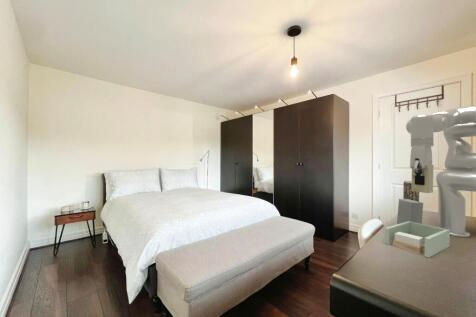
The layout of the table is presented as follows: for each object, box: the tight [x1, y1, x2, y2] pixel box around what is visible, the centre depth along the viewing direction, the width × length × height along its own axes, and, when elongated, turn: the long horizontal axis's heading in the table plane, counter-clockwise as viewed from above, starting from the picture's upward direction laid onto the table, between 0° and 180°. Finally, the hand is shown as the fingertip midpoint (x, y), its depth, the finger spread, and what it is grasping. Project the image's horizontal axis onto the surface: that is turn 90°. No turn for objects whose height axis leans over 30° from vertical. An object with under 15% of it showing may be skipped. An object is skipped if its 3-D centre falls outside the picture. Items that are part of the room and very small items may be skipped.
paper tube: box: [402, 180, 420, 202], centre depth 116 cm, size 7×7×25 cm
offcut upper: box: [395, 232, 424, 247], centre depth 85 cm, size 5×8×3 cm, turn 33°
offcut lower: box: [392, 239, 425, 255], centre depth 85 cm, size 5×9×3 cm, turn 29°
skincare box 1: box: [396, 198, 424, 225], centre depth 108 cm, size 8×7×16 cm
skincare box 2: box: [411, 164, 434, 194], centre depth 91 cm, size 6×4×12 cm
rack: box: [384, 221, 451, 258], centre depth 88 cm, size 22×14×7 cm, turn 120°
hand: (422, 184), depth 91 cm, fingers closed on skincare box 2, 4 cm apart
